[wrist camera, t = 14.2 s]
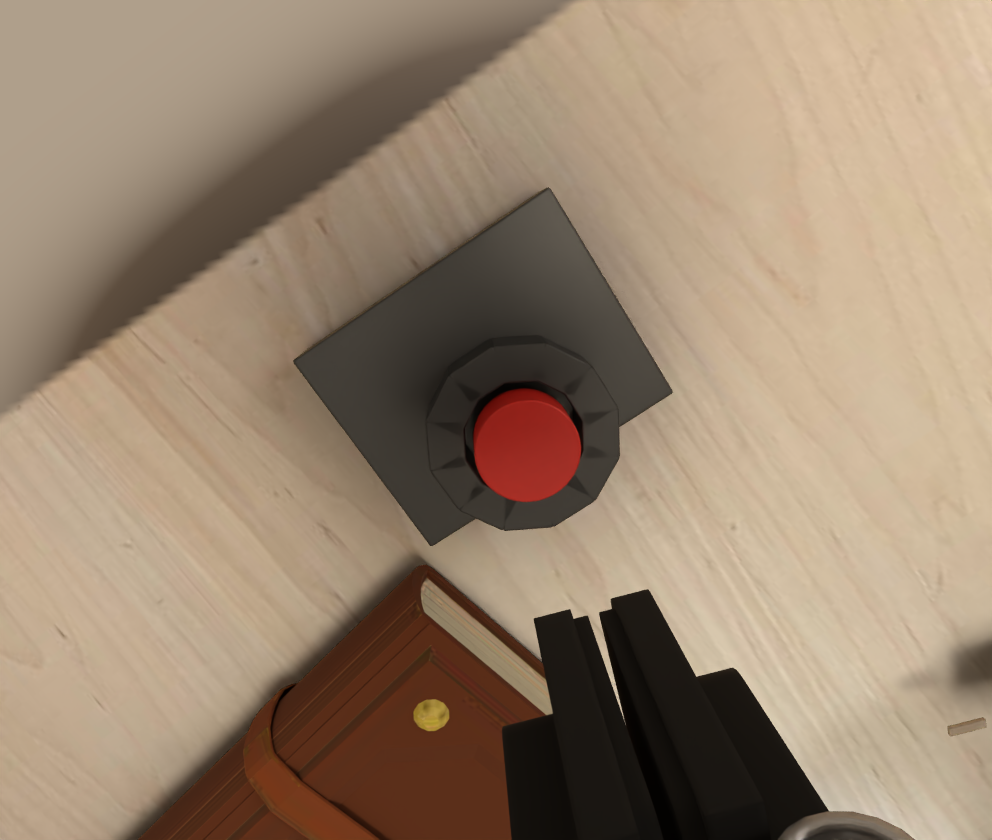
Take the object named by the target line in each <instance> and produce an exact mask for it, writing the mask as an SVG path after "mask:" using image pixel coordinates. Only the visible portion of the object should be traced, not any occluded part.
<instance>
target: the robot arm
mask: <svg viewBox="0 0 992 840" xmlns="http://www.w3.org/2000/svg"><path fill="white" fill-rule="evenodd" d="M611 605H612V609H611V610H607V611H603V612H599V615H600V620H601V624H602V629H603V633H604V637H605V641H606V645H607V649H608V653H609V657H610V662H611V666H612V670H613V674H614V678H615V682H616V686H617V690H618V695H619V699H620V703H621V707H622V711H623V715H624V719H625V722H624V719H623V716H622V713H621V710H620V707H619V705H618V702H617V699H616V696H615V693H614V690H613V687H612V684H611V681H610V679H609V676H608V673H607V670H606V667H605V664H604V661H603V658H602V655H601V653H600V650H599V647H598V644H597V641H596V638H595V635H594V632H593V629H592V627H591V624H590V621H589V618H588V616H583V617H579V618H576V619H573V616H572V613H571V610H570V609H569V610H565V611H561V612H557V613H553V614H549V615H545V616H542V617H538V618H534V623H535V628H536V633H537V638H538V643H539V648H540V653H541V658H542V662H543V667H544V672H545V677H546V682H547V687H548V692H549V697H550V702H551V707H552V712H553V714H549V715H545V716H541V717H537V718H534V719H530V720H526V721H522V722H518V723H514V724H510V725H506V726H503V727H502V741H503V751H504V762H505V773H506V784H507V795H508V806H509V816H510V827H511V838H512V840H915V839H913V838H912V837H911V836H910V835H908V834H907V833H906V832H905V831H903V830H902V829H900V828H898V827H896V826H894V825H892V824H890V823H888V822H885V821H883V820H881V819H879V818H877V817H872V816H868V815H864V814H860V813H856V812H836V811H829V810H828V809H827V807H826V806H825V804H824V803H823V801H822V800H821V798H820V797H819V795H818V794H817V792H816V790H815V789H814V787H813V786H812V784H811V783H810V781H809V780H808V778H807V777H806V775H805V773H804V772H803V770H802V769H801V767H800V766H799V764H798V763H797V761H796V760H795V758H794V756H793V755H792V753H791V752H790V750H789V749H788V747H787V746H786V744H785V743H784V741H783V739H782V738H781V736H780V735H779V733H778V732H777V730H776V729H775V727H774V726H773V724H772V722H771V721H770V719H769V718H768V716H767V715H766V713H765V712H764V710H763V709H762V707H761V705H760V704H759V702H758V701H757V699H756V698H755V696H754V695H753V693H752V692H751V690H750V688H749V687H748V685H747V684H746V682H745V681H744V679H743V678H742V676H741V675H740V674H739V672H738V671H737V670H736V669H734V668H729V669H725V670H721V671H718V672H714V673H710V674H706V675H702V676H698V677H696V675H695V674H694V672H693V670H692V668H691V666H690V664H689V663H688V661H687V659H686V657H685V655H684V653H683V652H682V650H681V648H680V646H679V644H678V642H677V640H676V639H675V637H674V635H673V633H672V631H671V629H670V628H669V626H668V624H667V622H666V620H665V618H664V617H663V615H662V613H661V611H660V609H659V607H658V606H657V604H656V602H655V600H654V598H653V596H652V595H651V593H650V591H649V590H648V589H647V590H643V591H639V592H635V593H631V594H627V595H623V596H619V597H615V598H612V599H611ZM625 723H626V725H625Z"/></svg>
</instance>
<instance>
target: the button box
mask: <svg viewBox="0 0 992 840" xmlns="http://www.w3.org/2000/svg"><path fill="white" fill-rule="evenodd" d="M293 362H294V364H295V365H296V367H297V368H298V369H299V371H300V372H301V373H302V375H303V376H304V377H305V379H306V380H307V381H308V383H309V384H310V385H311V387H312V388H313V389H314V391H315V392H316V394H317V395H318V396H319V398H320V399H321V400H322V402H323V403H324V404H325V406H326V407H327V408H328V410H329V411H330V412H331V414H332V415H333V416H334V418H335V419H336V420H337V422H338V423H339V424H340V426H341V427H342V428H343V430H344V431H345V432H346V434H347V435H348V436H349V438H350V439H351V440H352V442H353V443H354V444H355V446H356V447H357V448H358V450H359V451H360V452H361V454H362V455H363V456H364V458H365V459H366V460H367V462H368V463H369V464H370V466H371V467H372V468H373V470H374V471H375V473H376V474H377V475H378V477H379V478H380V479H381V481H382V482H383V483H384V485H385V486H386V487H387V489H388V490H389V491H390V493H391V494H392V495H393V497H394V498H395V499H396V501H397V502H398V503H399V505H400V506H401V507H402V509H403V510H404V511H405V513H406V514H407V515H408V517H409V518H410V519H411V521H412V522H413V523H414V525H415V526H416V527H417V529H418V530H419V531H420V533H421V534H422V535H423V537H424V538H425V539H426V541H427V542H428V543H429V545H430V546H433V545H435V544H437V543H438V542H440V541H441V540H443V539H444V538H446V537H448V536H449V535H451V534H452V533H454V532H455V531H457V530H458V529H460V528H462V527H463V526H465V525H466V524H468V523H469V522H471V521H473V520H474V519H478V520H481V521H483V522H485V523H487V524H489V525H492V526H494V527H496V528H498V529H501V530H503V529H504V530H505V531H509V530H523V529H536V528H549V527H552V526H556V525H557V524H559V523H561V522H562V521H564V520H565V519H567V518H569V517H570V516H572V515H573V514H575V513H577V512H578V511H580V510H581V509H583V508H585V507H586V506H588V505H589V504H591V503H592V502H594V501H595V500H596V499H597V497H598V495H599V494H600V492H601V490H602V488H603V486H604V485H605V483H606V481H607V479H608V478H609V476H610V474H611V472H612V470H613V469H614V467H615V465H616V463H617V462H618V460H619V456H620V440H619V427H620V426H622V425H623V424H625V423H626V422H628V421H630V420H631V419H633V418H634V417H636V416H637V415H639V414H641V413H642V412H644V411H645V410H647V409H648V408H650V407H652V406H653V405H655V404H656V403H658V402H659V401H661V400H663V399H664V398H666V397H667V396H669V395H670V394H672V393H673V392H672V389H671V387H670V386H669V384H668V382H667V381H666V379H665V377H664V376H663V374H662V372H661V371H660V369H659V367H658V366H657V364H656V362H655V361H654V359H653V357H652V356H651V354H650V353H649V351H648V349H647V348H646V346H645V344H644V343H643V341H642V339H641V338H640V336H639V334H638V333H637V331H636V329H635V328H634V326H633V324H632V323H631V321H630V319H629V318H628V316H627V314H626V313H625V311H624V309H623V308H622V306H621V305H620V303H619V301H618V300H617V298H616V296H615V295H614V293H613V291H612V290H611V288H610V286H609V285H608V283H607V281H606V280H605V278H604V276H603V275H602V273H601V271H600V270H599V268H598V266H597V265H596V263H595V261H594V260H593V258H592V256H591V255H590V253H589V252H588V250H587V248H586V247H585V245H584V243H583V242H582V240H581V238H580V237H579V235H578V233H577V232H576V230H575V228H574V227H573V225H572V223H571V222H570V220H569V218H568V217H567V215H566V213H565V212H564V210H563V208H562V207H561V205H560V204H559V202H558V200H557V199H556V197H555V195H554V194H553V192H552V190H551V189H550V188H549V187H548V188H545V189H543V190H542V191H540V192H538V193H537V194H535V195H534V196H532V197H531V198H529V199H528V200H526V201H525V202H523V203H522V204H521V205H519V206H518V207H516V208H515V209H513V210H512V211H510V212H509V213H507V214H506V215H504V216H503V217H501V218H500V219H498V220H497V221H496V222H494V223H493V224H491V225H490V226H488V227H487V228H485V229H484V230H482V231H481V232H479V233H478V234H476V235H475V236H473V237H472V238H471V239H469V240H468V241H466V242H465V243H463V244H462V245H460V246H459V247H457V248H456V249H454V250H453V251H451V252H450V253H448V254H447V255H446V256H444V257H443V258H441V259H440V260H438V261H437V262H435V263H434V264H432V265H431V266H429V267H428V268H426V269H425V270H424V271H422V272H421V273H419V274H418V275H416V276H415V277H413V278H412V279H410V280H409V281H407V282H406V283H404V284H403V285H401V286H400V287H399V288H397V289H396V290H394V291H393V292H391V293H390V294H388V295H387V296H385V297H384V298H382V299H381V300H379V301H378V302H376V303H375V304H374V305H372V306H371V307H369V308H368V309H366V310H365V311H363V312H362V313H360V314H359V315H357V316H356V317H354V318H353V319H351V320H350V321H349V322H347V323H346V324H344V325H343V326H341V327H340V328H338V329H337V330H335V331H334V332H332V333H331V334H329V335H328V336H326V337H325V338H324V339H322V340H321V341H319V342H318V343H316V344H315V345H313V346H312V347H310V348H309V349H307V350H306V351H305V352H303V353H302V354H301V355H300V356H298V357H297V358H296V359H294V361H293ZM520 388H528V389H535V390H539V391H542V392H544V393H547V394H548V395H550V396H552V397H553V398H554V399H556V400H557V401H558V402H559V403H560V404H561V405H562V406H563V408H564V409H565V410H566V412H567V414H568V415H569V417H570V418H571V420H572V422H573V423H574V425H575V427H576V429H577V431H578V434H579V438H580V443H581V456H580V461H579V465H578V468H577V470H576V472H575V474H574V476H573V477H572V479H571V480H570V481H569V482H568V484H567V485H566V486H565V487H564V488H563V489H561V490H560V491H559V492H557V493H556V494H554V495H552V496H550V497H548V498H545V499H543V500H539V501H533V502H520V501H514V500H510V499H507V498H505V497H502V496H501V495H499V494H497V493H496V492H494V491H493V490H492V489H491V488H490V487H489V486H488V485H487V484H486V483H485V482H484V481H483V479H482V477H481V476H480V474H479V472H478V469H477V466H476V463H475V456H474V445H473V432H474V426H475V423H476V420H477V418H478V416H479V414H480V412H481V411H482V409H483V408H484V407H485V406H486V404H488V403H489V402H490V401H491V400H492V399H493V398H495V397H496V396H498V395H500V394H501V393H504V392H506V391H509V390H513V389H520Z"/></svg>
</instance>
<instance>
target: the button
mask: <svg viewBox="0 0 992 840" xmlns="http://www.w3.org/2000/svg"><path fill="white" fill-rule="evenodd" d="M473 445H474V456H475V463H476V466H477V469H478V472H479V474H480V476H481V477H482V479H483V481H484V482H485V483H486V484H487V485H488V486H489V487H490V488H491V489H492V490H493V491H494V492H496V493H497V494H499V495H501V496H502V497H505V498H507V499H510V500H514V501H520V502H533V501H539V500H543V499H545V498H548V497H550V496H552V495H554V494H556V493H557V492H559V491H560V490H561V489H563V488H564V487H565V486H566V485H567V484H568V482H569V481H570V480H571V479H572V477H573V476H574V474H575V472H576V470H577V468H578V465H579V461H580V456H581V443H580V438H579V434H578V431H577V429H576V427H575V425H574V423H573V422H572V420H571V418H570V417H569V415H568V414H567V412H566V410H565V409H564V408H563V406H562V405H561V404H560V403H559V402H558V401H557V400H556V399H554V398H553V397H552V396H550V395H548V394H547V393H544V392H542V391H539V390H535V389H528V388H520V389H513V390H509V391H506V392H504V393H501V394H500V395H498V396H496V397H495V398H493V399H492V400H491V401H490V402H489V403H488V404H486V406H485V407H484V408H483V409H482V411H481V412H480V414H479V416H478V418H477V420H476V423H475V426H474V432H473Z"/></svg>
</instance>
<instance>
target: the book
mask: <svg viewBox="0 0 992 840" xmlns="http://www.w3.org/2000/svg"><path fill="white" fill-rule="evenodd" d="M549 714H553V712H552V707H551V702H550V697H549V692H548V687H547V682H546V677H545V672H544V667H543V663H542V662H540V661H539V660H538V659H537V658H536V657H535V656H533V655H532V654H531V653H530V652H529V651H528V650H527V649H525V648H524V647H523V646H522V645H521V644H520V643H518V642H517V641H516V640H515V639H514V638H513V637H511V636H510V635H509V634H508V633H507V632H506V631H505V630H503V629H502V628H501V627H500V626H499V625H498V624H496V623H495V622H494V621H493V620H492V619H491V618H489V617H488V616H487V615H486V614H485V613H484V612H483V611H481V610H480V609H479V608H478V607H477V606H476V605H474V604H473V603H472V602H471V601H470V600H469V599H467V598H466V597H465V596H464V595H463V594H462V593H461V592H459V591H458V590H457V589H456V588H455V587H454V586H452V585H451V584H450V583H449V582H448V581H447V580H445V579H444V578H443V577H442V576H441V575H440V574H439V573H437V572H436V571H435V570H434V569H432V568H431V567H429V566H428V565H420V566H418V567H416V568H415V569H414V570H413V571H412V572H411V573H410V574H409V575H408V576H407V577H406V578H405V579H404V580H403V581H402V582H401V583H400V584H399V585H398V586H397V587H396V588H395V589H394V590H393V591H392V592H391V593H390V594H389V595H388V596H387V597H386V598H385V599H384V600H383V601H382V602H381V603H380V604H379V605H378V606H377V607H375V608H374V609H373V610H372V611H371V612H370V613H369V614H368V615H367V616H366V617H365V618H364V619H363V620H362V621H361V622H360V623H359V624H358V625H357V626H356V627H355V628H354V629H353V630H352V631H351V632H350V633H349V634H348V635H347V636H346V637H345V638H344V639H343V640H342V641H341V642H340V643H339V644H338V645H337V646H336V647H335V648H333V649H332V650H331V651H330V652H329V653H328V654H327V655H326V656H325V657H324V658H323V659H322V660H321V661H320V662H319V663H318V664H317V665H316V666H315V667H314V668H313V669H312V670H311V671H310V672H309V673H308V674H307V675H306V676H305V677H304V678H303V679H302V680H301V681H300V682H299V683H295V684H291V685H288V686H287V687H285V688H283V689H281V690H280V691H279V692H278V693H277V694H276V695H275V696H274V697H273V698H272V699H271V700H270V701H269V702H268V703H267V704H266V705H265V706H264V707H263V708H262V709H261V710H260V711H259V713H258V714H257V715H256V717H255V718H254V720H253V722H252V724H251V726H250V728H249V731H248V732H247V733H246V734H245V735H244V736H243V737H242V738H241V739H240V740H239V741H238V742H237V743H236V744H235V745H234V746H233V747H232V748H231V749H230V750H229V751H228V752H227V753H226V754H225V755H224V756H223V757H222V758H221V759H220V760H219V761H218V762H217V763H216V764H215V765H214V766H213V767H212V768H211V769H210V770H208V771H207V772H206V773H205V774H204V775H203V776H202V777H201V778H200V779H199V780H198V781H197V782H196V783H195V784H194V785H193V786H192V787H191V788H190V789H189V790H188V791H187V792H186V793H185V794H184V795H183V796H182V797H181V798H180V799H179V800H178V801H177V802H176V803H175V804H174V805H173V806H172V807H171V808H170V809H169V810H167V811H166V812H165V813H164V814H163V815H162V816H161V817H160V818H159V819H158V820H157V821H156V822H155V823H154V824H153V825H152V826H151V827H150V828H149V829H148V830H147V831H146V832H145V833H144V834H143V835H142V836H141V837H140V838H139V839H138V840H512V838H511V827H510V816H509V806H508V795H507V784H506V773H505V762H504V751H503V741H502V727H503V726H506V725H510V724H514V723H518V722H522V721H526V720H530V719H534V718H537V717H541V716H545V715H549Z"/></svg>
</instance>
